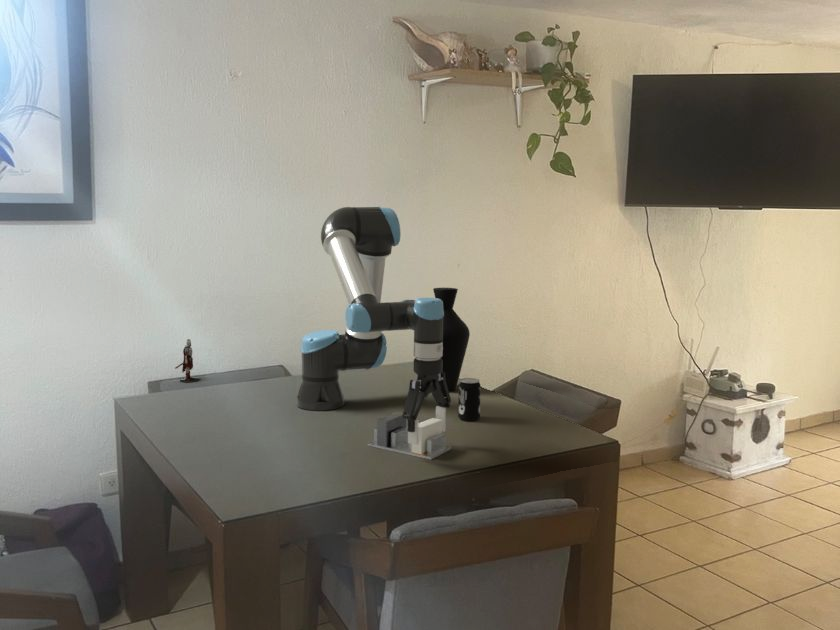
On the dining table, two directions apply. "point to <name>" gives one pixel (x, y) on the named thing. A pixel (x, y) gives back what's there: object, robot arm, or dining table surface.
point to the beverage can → (469, 399)
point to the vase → (452, 337)
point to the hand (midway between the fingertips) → (427, 437)
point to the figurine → (187, 363)
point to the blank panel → (426, 434)
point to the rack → (404, 438)
